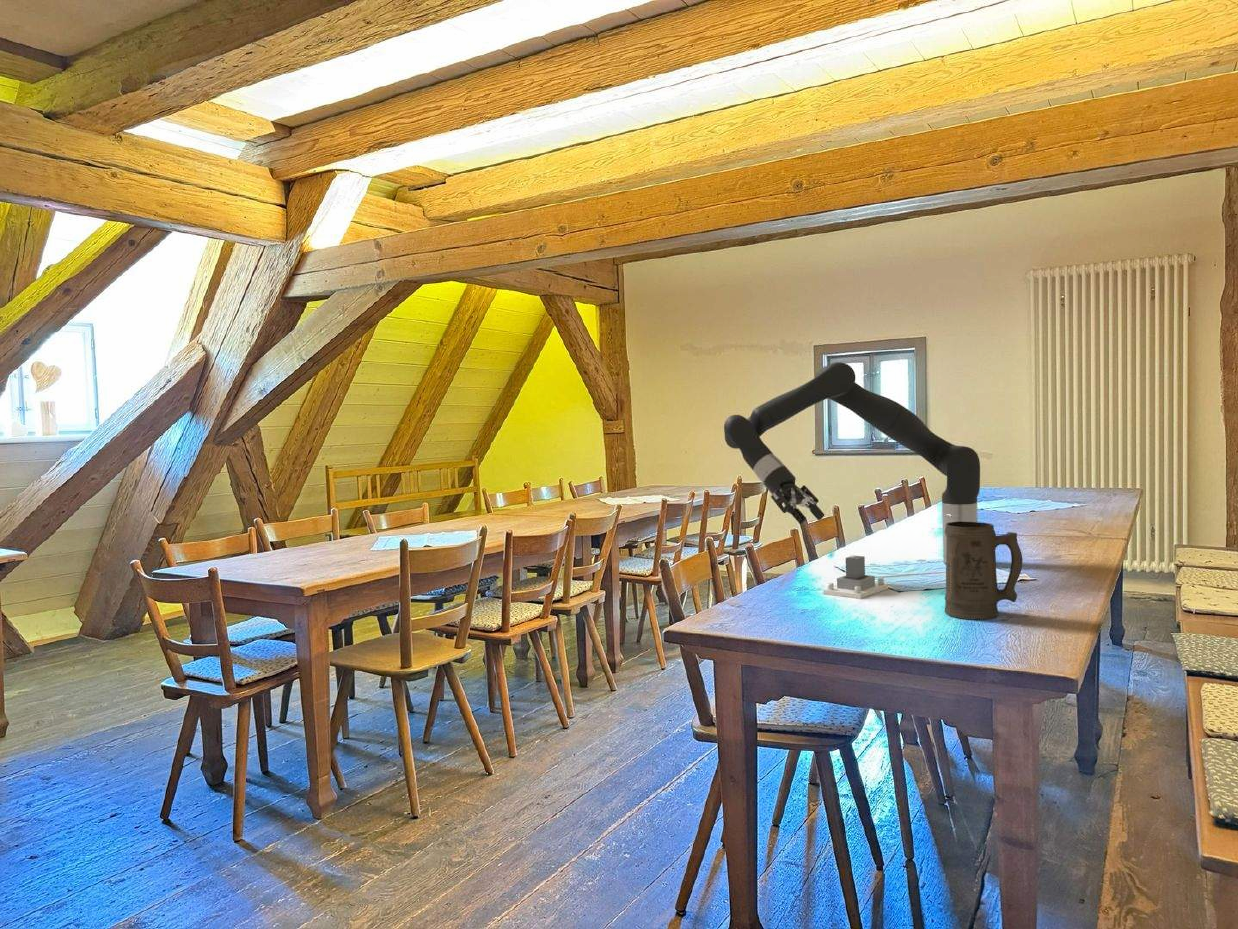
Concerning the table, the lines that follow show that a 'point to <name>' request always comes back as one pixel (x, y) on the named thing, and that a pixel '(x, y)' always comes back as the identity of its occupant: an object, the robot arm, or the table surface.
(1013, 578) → the beer stein
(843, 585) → the plate
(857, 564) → the block
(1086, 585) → the table surface
